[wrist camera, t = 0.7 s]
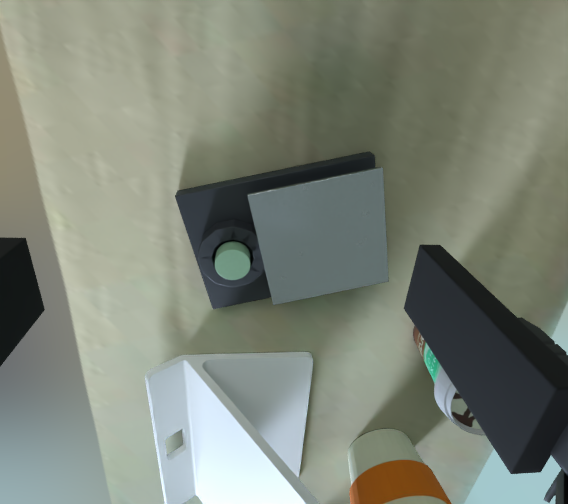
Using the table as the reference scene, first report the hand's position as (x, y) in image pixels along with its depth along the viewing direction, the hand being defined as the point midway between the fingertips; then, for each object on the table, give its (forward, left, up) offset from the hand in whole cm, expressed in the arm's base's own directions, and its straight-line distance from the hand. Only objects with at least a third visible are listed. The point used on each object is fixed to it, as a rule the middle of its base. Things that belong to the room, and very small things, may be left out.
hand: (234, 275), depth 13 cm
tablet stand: (+34, -9, -21) cm, 41 cm away
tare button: (+9, -3, -18) cm, 20 cm away
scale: (+9, +2, -21) cm, 23 cm away
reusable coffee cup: (+45, +9, -21) cm, 50 cm away
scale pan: (+9, +5, -18) cm, 21 cm away
